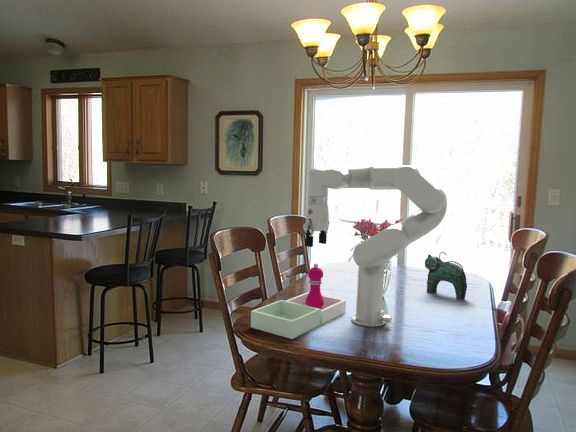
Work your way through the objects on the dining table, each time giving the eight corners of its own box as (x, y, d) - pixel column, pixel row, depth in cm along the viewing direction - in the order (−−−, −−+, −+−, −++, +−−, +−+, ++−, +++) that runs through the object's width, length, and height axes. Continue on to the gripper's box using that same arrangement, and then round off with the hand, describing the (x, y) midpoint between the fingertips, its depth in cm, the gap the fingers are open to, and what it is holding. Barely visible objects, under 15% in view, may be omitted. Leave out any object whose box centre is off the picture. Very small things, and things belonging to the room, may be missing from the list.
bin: (320, 325, 171) (320, 309, 170) (292, 339, 156) (292, 321, 156) (280, 314, 181) (281, 299, 181) (250, 327, 167) (251, 310, 166)
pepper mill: (322, 317, 180) (324, 266, 178) (303, 315, 182) (305, 264, 179) (324, 311, 187) (326, 262, 185) (306, 309, 189) (308, 261, 186)
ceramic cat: (422, 291, 221) (424, 249, 219) (429, 289, 226) (432, 248, 223) (461, 301, 206) (464, 256, 204) (468, 299, 211) (471, 255, 209)
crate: (345, 312, 186) (345, 300, 186) (321, 324, 172) (322, 311, 171) (307, 303, 197) (308, 292, 196) (282, 314, 182) (282, 301, 182)
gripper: (313, 202, 170) (311, 249, 172) (337, 200, 184) (335, 243, 186) (296, 201, 175) (295, 246, 177) (321, 199, 189) (319, 241, 191)
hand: (315, 244), depth 181 cm, fingers open, 9 cm apart
